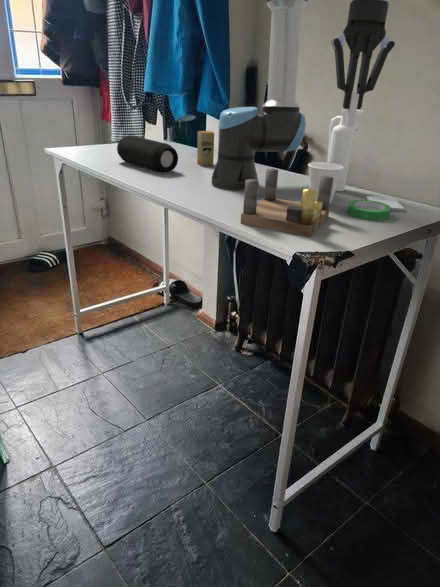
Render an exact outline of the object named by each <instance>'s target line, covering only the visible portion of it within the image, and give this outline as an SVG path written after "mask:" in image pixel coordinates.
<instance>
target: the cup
mask: <svg viewBox="0 0 440 587" xmlns="http://www.w3.org/2000/svg"><path fill="white" fill-rule="evenodd" d="M307 166H308V178H309V179H308V180H309V182H308V183H309V184H308V185H309V186H308V188H314V189H316V190H317V194H316V200H317V199H318V192H319V185H320V179H321V176H330V177H333V184H332V190H331V197H330V203H329V206H330V205H331V204H332V202H333V199H334V196H335V193H336V191H335V190H336V187H337V184H338V181H339V178H340V175H341V172H342V169H343V168H344V167H343V166H342V165H339V164H335V163H328V162H327V161H313V162H309V163H308V164H307Z"/></svg>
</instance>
